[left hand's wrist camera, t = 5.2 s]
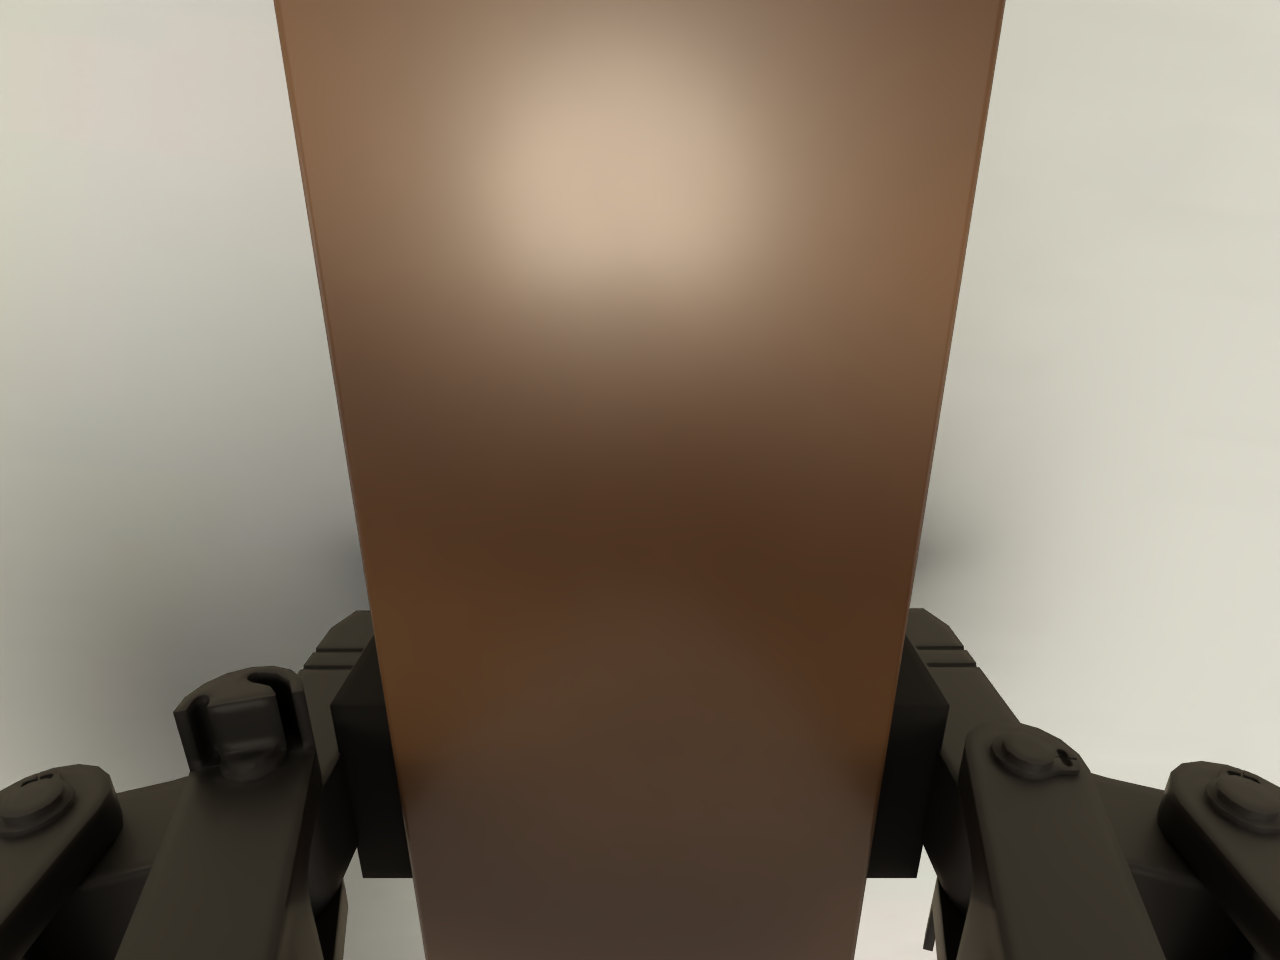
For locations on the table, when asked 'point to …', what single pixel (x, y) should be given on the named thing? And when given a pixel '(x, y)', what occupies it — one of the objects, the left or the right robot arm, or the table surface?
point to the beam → (639, 438)
